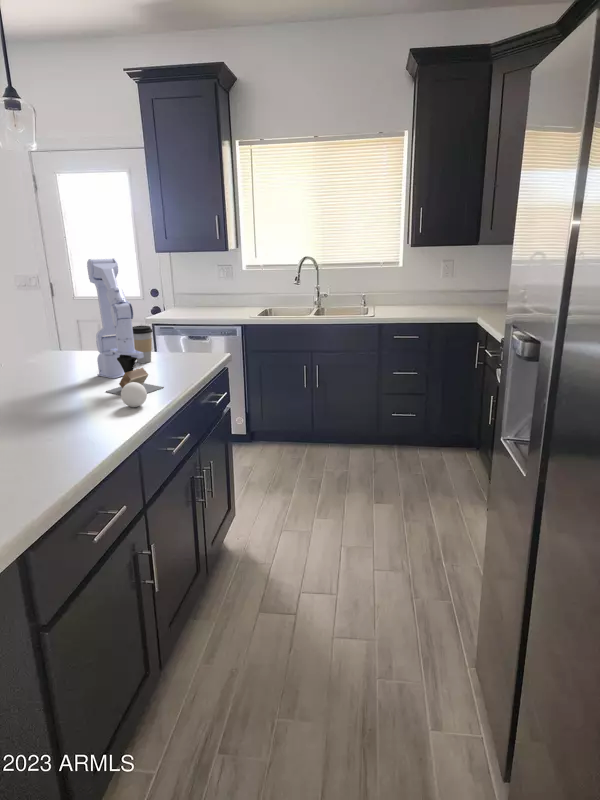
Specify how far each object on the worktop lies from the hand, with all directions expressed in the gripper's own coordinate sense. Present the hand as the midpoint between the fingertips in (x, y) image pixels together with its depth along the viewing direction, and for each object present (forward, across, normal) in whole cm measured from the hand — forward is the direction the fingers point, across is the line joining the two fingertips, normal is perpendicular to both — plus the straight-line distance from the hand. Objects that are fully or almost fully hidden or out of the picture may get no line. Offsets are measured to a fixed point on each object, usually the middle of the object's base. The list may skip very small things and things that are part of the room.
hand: (129, 376), depth 185 cm
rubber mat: (+5, +2, 0) cm, 5 cm away
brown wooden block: (+3, 0, +1) cm, 3 cm away
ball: (+5, +16, -13) cm, 21 cm away
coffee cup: (+4, -27, +32) cm, 42 cm away
